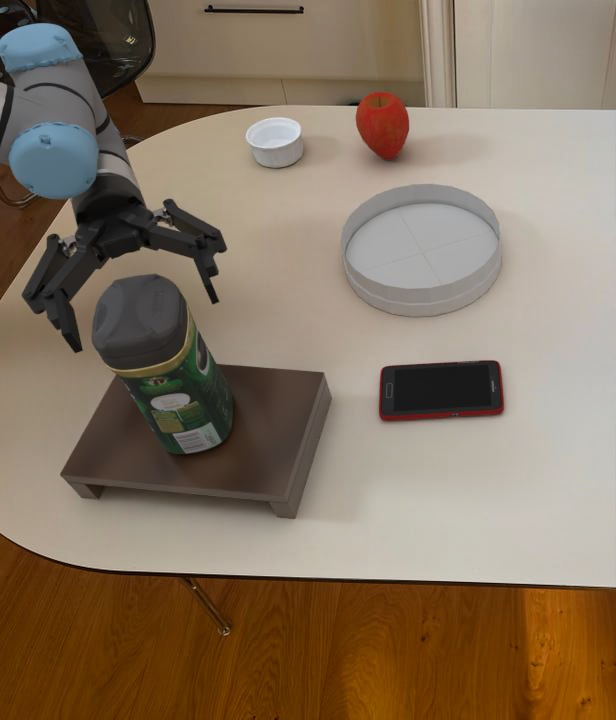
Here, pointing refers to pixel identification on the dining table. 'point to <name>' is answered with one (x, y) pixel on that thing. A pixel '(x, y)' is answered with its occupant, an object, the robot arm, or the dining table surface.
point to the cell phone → (440, 390)
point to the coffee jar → (163, 362)
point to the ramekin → (275, 142)
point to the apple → (383, 123)
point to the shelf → (219, 464)
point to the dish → (422, 249)
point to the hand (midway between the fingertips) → (144, 318)
